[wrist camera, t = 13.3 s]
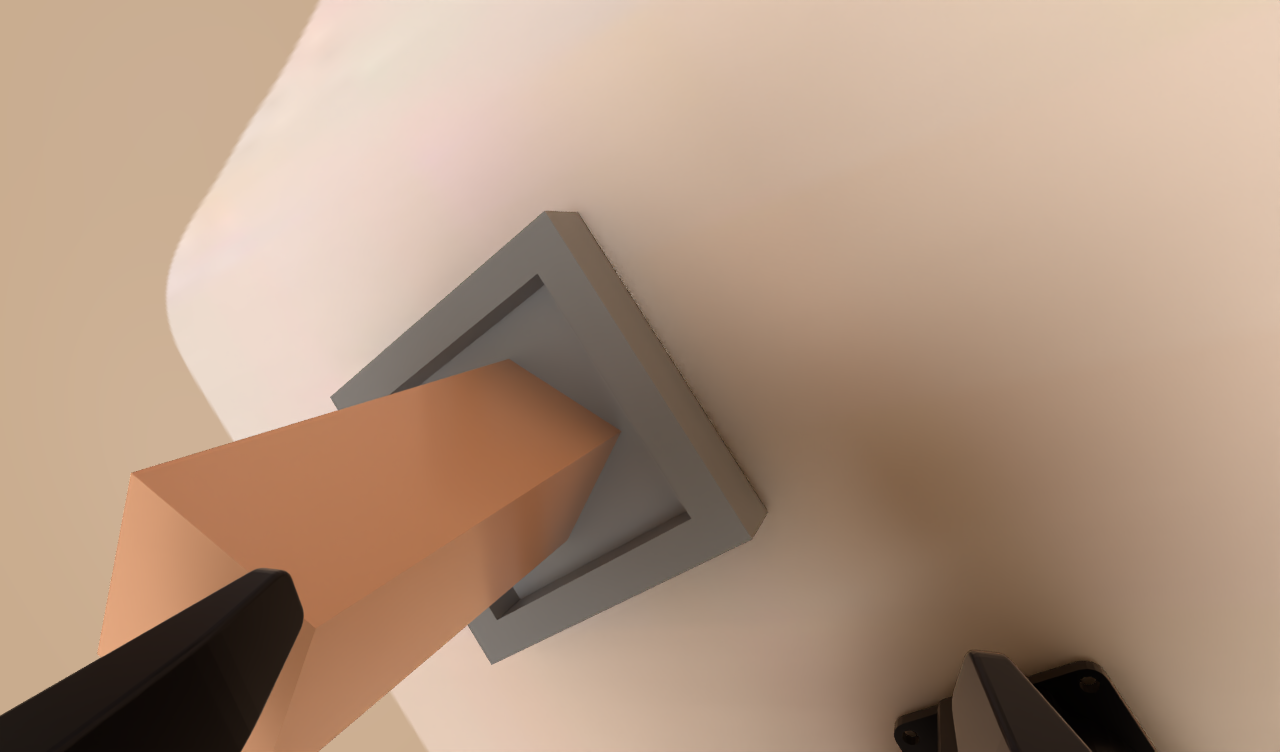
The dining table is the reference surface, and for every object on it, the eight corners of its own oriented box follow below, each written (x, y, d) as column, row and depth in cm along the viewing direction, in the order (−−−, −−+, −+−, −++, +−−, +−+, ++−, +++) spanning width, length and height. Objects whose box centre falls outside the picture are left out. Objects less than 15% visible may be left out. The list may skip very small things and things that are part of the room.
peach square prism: (621, 431, 24) (315, 628, 12) (567, 540, 25) (254, 805, 14) (508, 358, 25) (130, 472, 13) (464, 467, 27) (97, 653, 15)
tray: (767, 512, 23) (751, 539, 21) (522, 633, 28) (491, 665, 26) (577, 212, 23) (545, 210, 21) (371, 385, 28) (330, 397, 26)
